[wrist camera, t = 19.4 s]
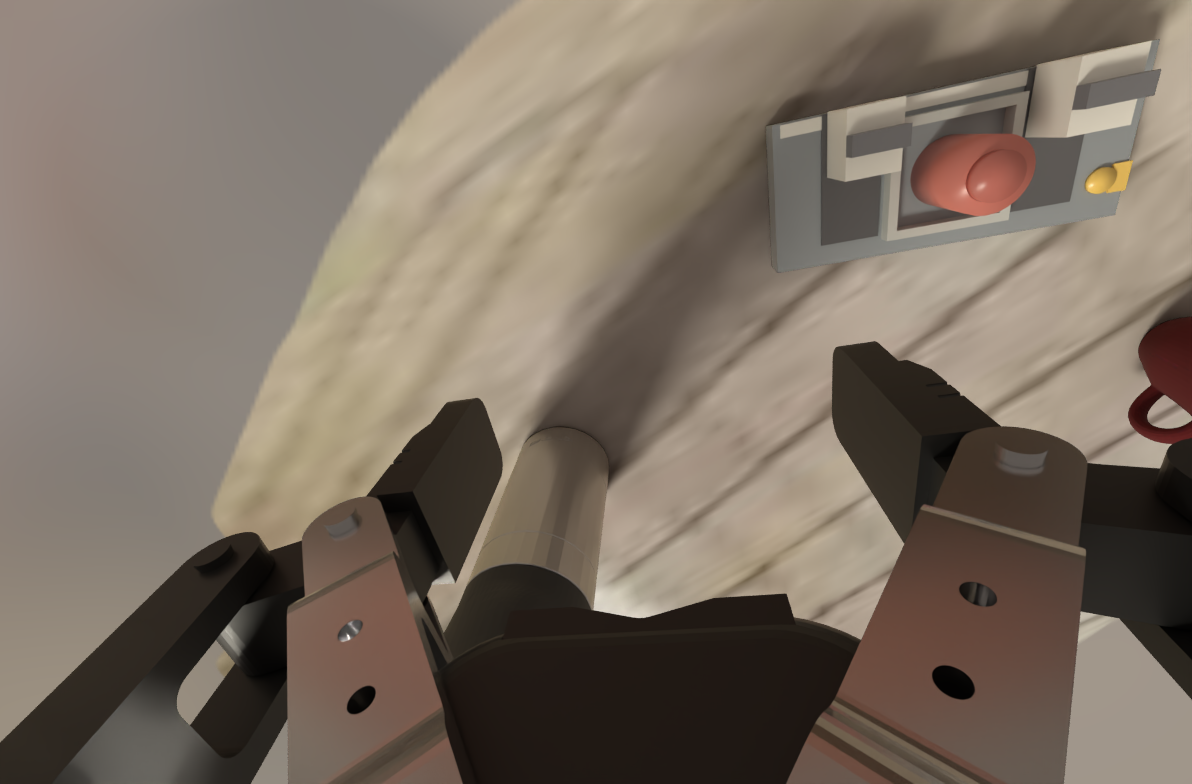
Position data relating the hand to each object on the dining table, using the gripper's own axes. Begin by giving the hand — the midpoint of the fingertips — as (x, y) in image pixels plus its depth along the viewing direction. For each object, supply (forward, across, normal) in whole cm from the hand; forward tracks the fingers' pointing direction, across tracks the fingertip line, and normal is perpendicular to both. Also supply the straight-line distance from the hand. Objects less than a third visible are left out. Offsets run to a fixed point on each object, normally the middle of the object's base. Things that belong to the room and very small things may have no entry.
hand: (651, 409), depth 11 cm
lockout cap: (+28, -20, 0) cm, 35 cm away
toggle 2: (+28, -26, -3) cm, 38 cm away
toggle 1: (+28, -14, -3) cm, 31 cm away
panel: (+30, -20, 0) cm, 36 cm away
